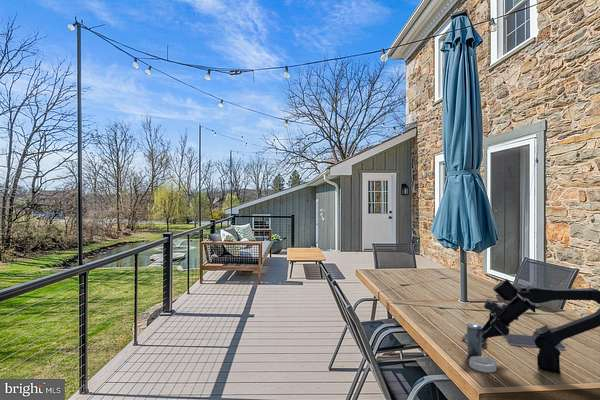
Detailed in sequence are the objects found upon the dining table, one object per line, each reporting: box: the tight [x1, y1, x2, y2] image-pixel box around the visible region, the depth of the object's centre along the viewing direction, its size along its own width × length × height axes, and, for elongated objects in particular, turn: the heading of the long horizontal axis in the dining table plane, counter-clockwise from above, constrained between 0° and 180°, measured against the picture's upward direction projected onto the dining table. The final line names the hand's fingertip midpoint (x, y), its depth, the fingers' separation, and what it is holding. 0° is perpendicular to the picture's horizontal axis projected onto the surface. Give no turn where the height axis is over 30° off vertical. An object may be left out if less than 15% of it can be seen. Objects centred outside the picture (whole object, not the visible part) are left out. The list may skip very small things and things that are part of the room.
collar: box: [468, 355, 497, 374], centre depth 136 cm, size 9×9×2 cm
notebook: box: [503, 333, 566, 351], centre depth 161 cm, size 13×2×21 cm
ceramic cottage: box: [514, 281, 540, 308], centre depth 227 cm, size 16×16×15 cm
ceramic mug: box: [461, 324, 489, 345], centre depth 163 cm, size 11×8×8 cm
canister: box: [466, 322, 483, 359], centre depth 145 cm, size 5×5×13 cm
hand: (482, 333), depth 143 cm, fingers open, 9 cm apart
